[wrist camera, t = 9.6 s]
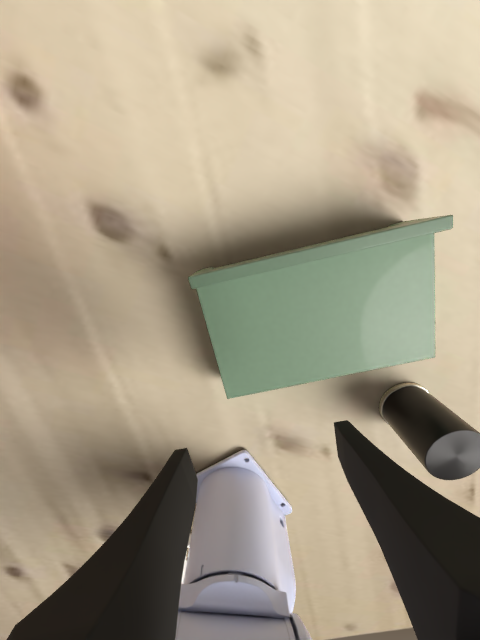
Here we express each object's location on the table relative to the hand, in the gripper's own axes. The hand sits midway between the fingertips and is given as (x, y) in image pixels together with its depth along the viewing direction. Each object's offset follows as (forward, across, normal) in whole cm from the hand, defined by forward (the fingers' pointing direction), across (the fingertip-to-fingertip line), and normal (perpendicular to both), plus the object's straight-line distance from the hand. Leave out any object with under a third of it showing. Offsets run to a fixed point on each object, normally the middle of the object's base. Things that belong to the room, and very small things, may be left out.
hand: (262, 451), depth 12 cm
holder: (+10, -13, +8) cm, 18 cm away
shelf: (+10, -5, -3) cm, 12 cm away
